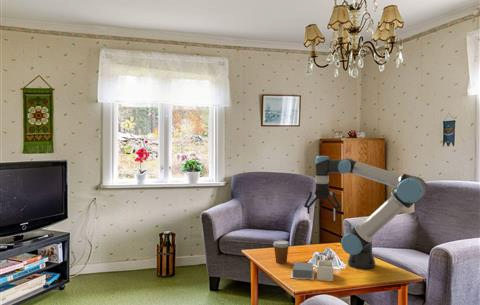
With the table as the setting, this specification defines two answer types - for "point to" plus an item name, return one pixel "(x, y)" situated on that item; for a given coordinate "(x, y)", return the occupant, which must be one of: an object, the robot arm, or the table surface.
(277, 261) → the disposable coffee cup
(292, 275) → the mat
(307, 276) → the lid
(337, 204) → the robot arm
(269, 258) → the table surface
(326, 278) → the storage box
